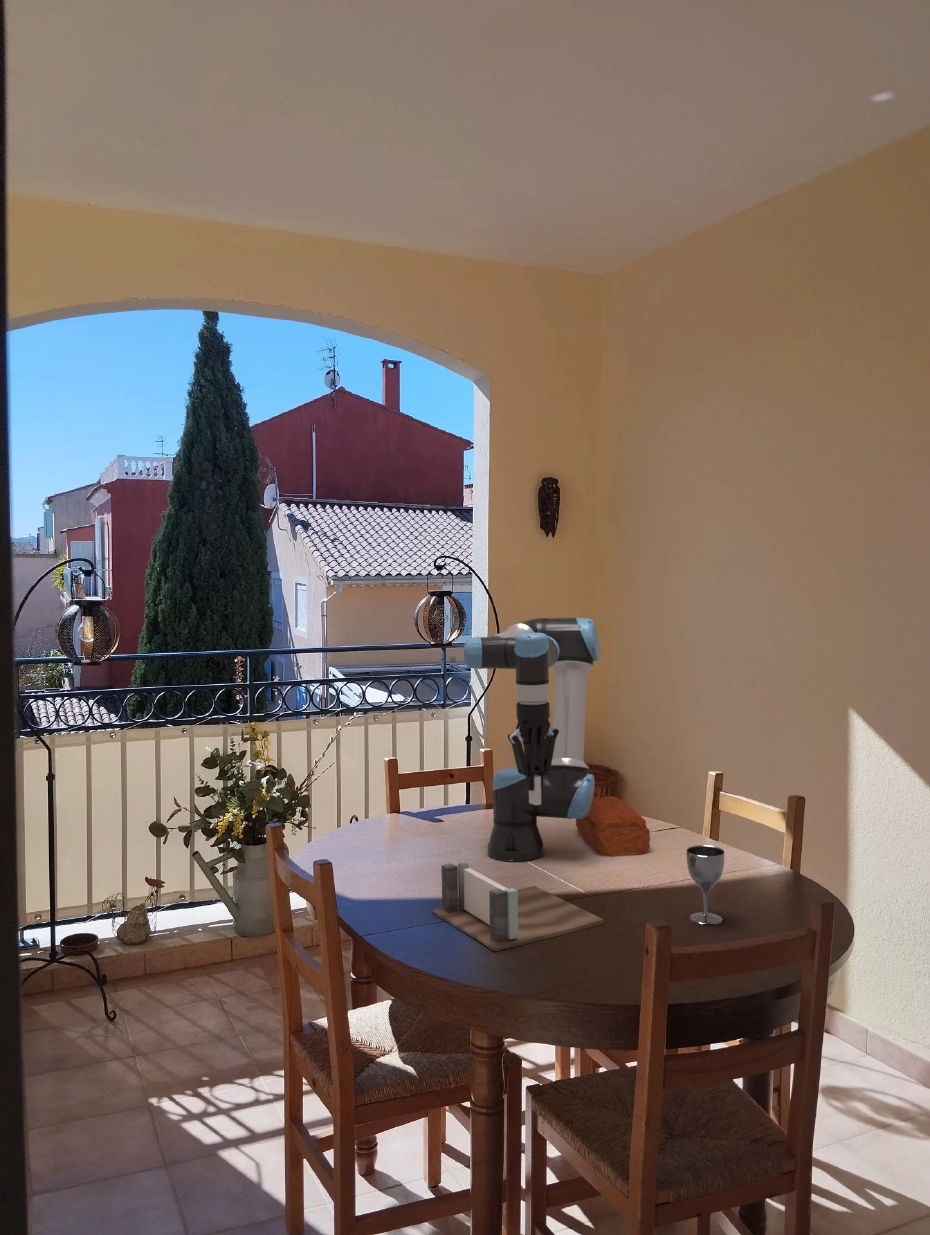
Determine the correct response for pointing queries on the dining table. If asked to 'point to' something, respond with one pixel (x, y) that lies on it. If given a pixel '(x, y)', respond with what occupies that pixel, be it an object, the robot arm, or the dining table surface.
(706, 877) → the wine glass
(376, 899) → the dining table surface
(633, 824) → the bread
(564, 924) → the gate frame
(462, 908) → the gate
